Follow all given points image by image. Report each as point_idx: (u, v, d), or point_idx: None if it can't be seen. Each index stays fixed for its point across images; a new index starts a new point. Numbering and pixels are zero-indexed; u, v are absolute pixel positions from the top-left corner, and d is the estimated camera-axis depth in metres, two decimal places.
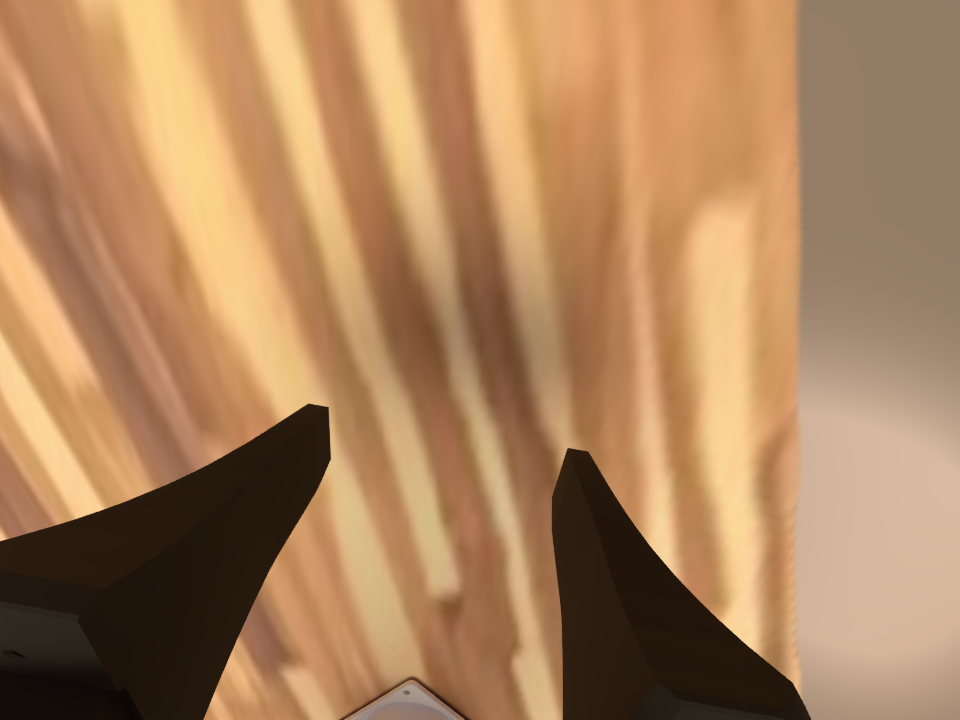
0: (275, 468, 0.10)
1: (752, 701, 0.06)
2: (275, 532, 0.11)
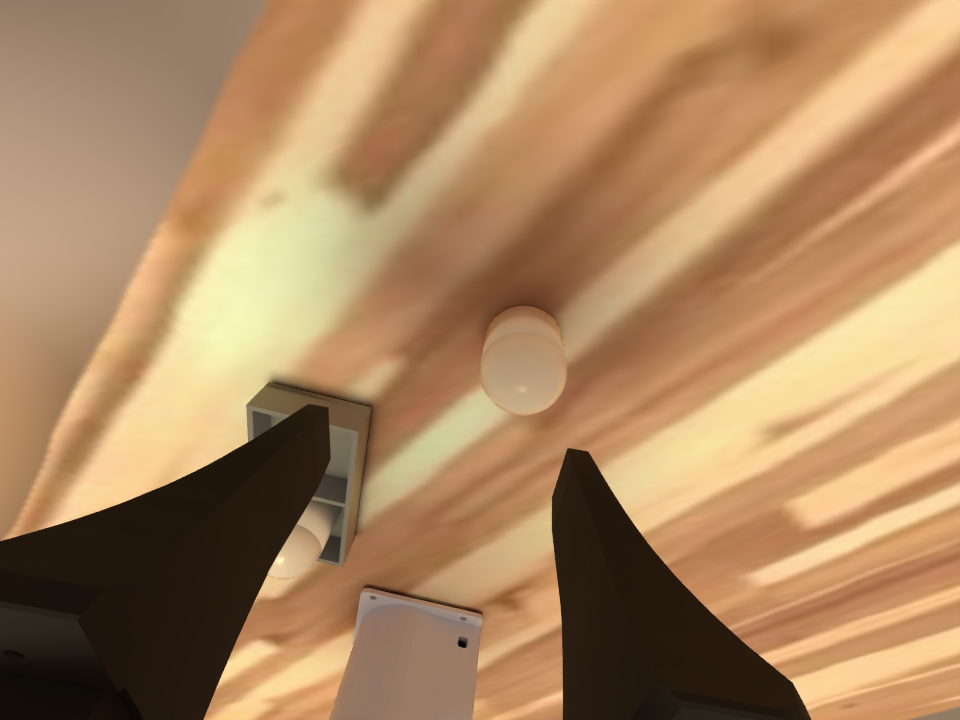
0: (276, 468, 0.10)
1: (753, 702, 0.06)
2: (275, 532, 0.11)
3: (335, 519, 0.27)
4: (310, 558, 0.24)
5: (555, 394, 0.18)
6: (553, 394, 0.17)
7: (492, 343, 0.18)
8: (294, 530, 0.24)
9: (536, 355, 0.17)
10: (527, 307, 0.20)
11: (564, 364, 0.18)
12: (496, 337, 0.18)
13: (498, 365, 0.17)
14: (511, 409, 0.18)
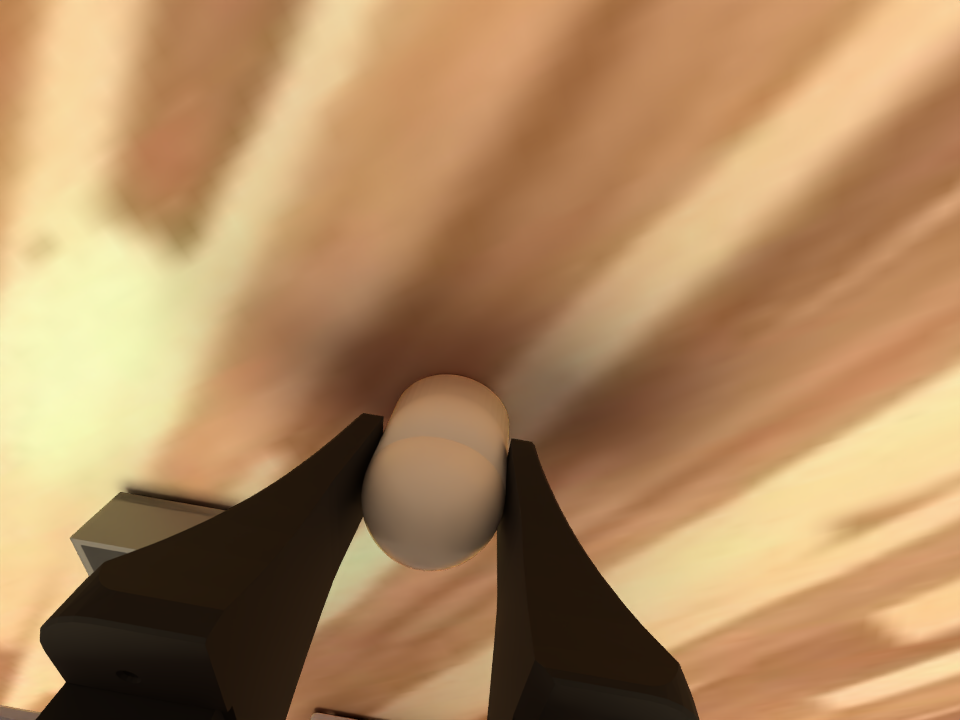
0: (343, 480, 0.10)
1: (629, 679, 0.06)
2: (339, 543, 0.11)
3: None
4: None
5: (480, 541, 0.10)
6: (475, 542, 0.10)
7: (374, 455, 0.11)
8: None
9: (437, 484, 0.10)
10: (446, 377, 0.13)
11: (494, 486, 0.10)
12: (384, 442, 0.11)
13: (376, 502, 0.10)
14: (410, 567, 0.11)
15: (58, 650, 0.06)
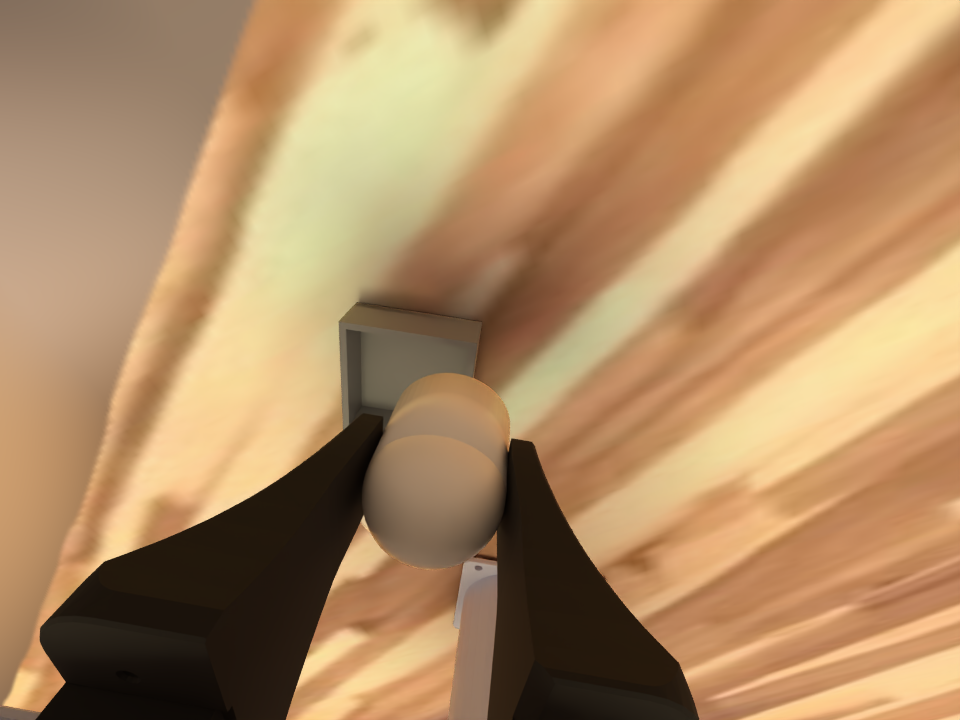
0: (343, 480, 0.10)
1: (628, 679, 0.06)
2: (339, 543, 0.11)
3: None
4: None
5: (481, 540, 0.10)
6: (477, 541, 0.10)
7: (375, 454, 0.11)
8: None
9: (438, 482, 0.10)
10: (447, 376, 0.13)
11: (495, 485, 0.10)
12: (384, 441, 0.11)
13: (377, 500, 0.10)
14: (410, 566, 0.11)
15: (58, 650, 0.06)
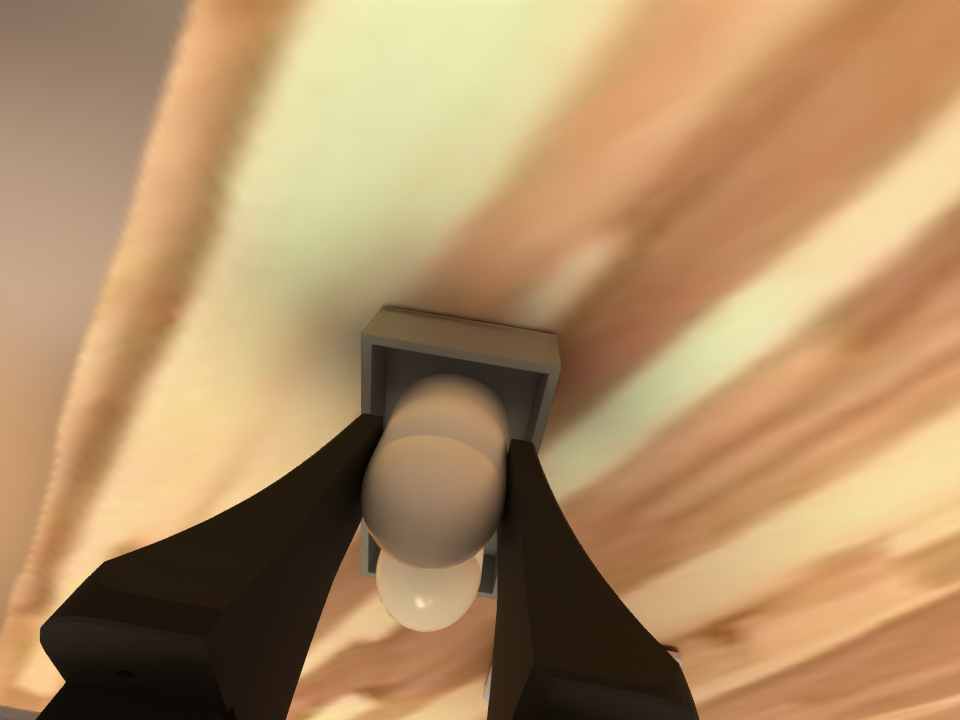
0: (343, 480, 0.10)
1: (628, 679, 0.06)
2: (339, 543, 0.11)
3: None
4: (471, 594, 0.15)
5: (480, 540, 0.10)
6: (476, 542, 0.10)
7: (375, 454, 0.11)
8: None
9: (437, 483, 0.10)
10: (446, 376, 0.13)
11: (494, 485, 0.10)
12: (384, 441, 0.11)
13: (376, 500, 0.10)
14: None
15: (58, 650, 0.06)
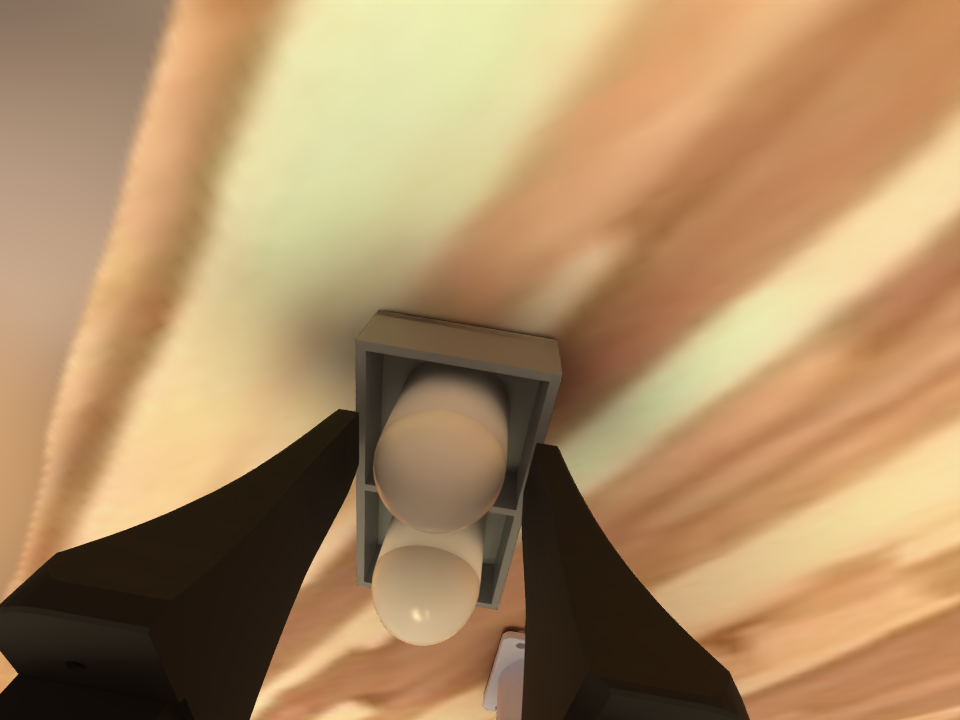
0: (313, 475, 0.10)
1: (683, 689, 0.06)
2: (311, 538, 0.11)
3: (484, 536, 0.17)
4: (470, 607, 0.14)
5: (483, 505, 0.11)
6: (479, 506, 0.11)
7: (385, 428, 0.12)
8: (441, 561, 0.14)
9: (444, 450, 0.11)
10: None
11: (496, 455, 0.11)
12: (394, 416, 0.12)
13: (388, 468, 0.11)
14: (419, 530, 0.11)
15: (6, 641, 0.06)
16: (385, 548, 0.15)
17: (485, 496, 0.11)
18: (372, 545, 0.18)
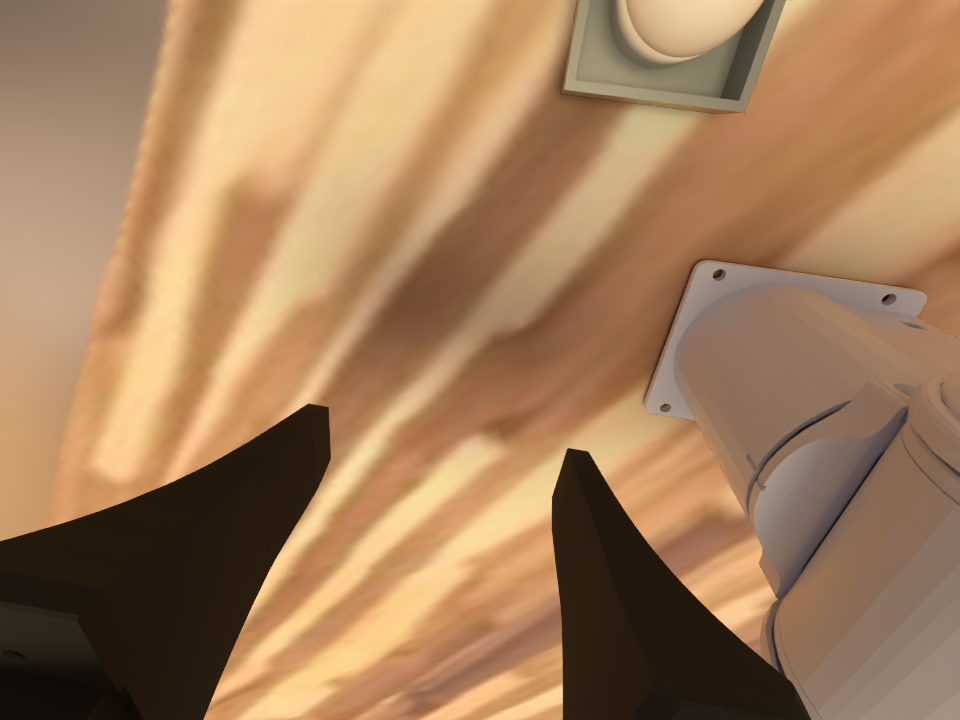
0: (275, 468, 0.10)
1: (753, 701, 0.06)
2: (275, 532, 0.11)
3: None
4: None
5: None
6: None
7: None
8: None
9: None
10: None
11: None
12: None
13: None
14: None
15: None
16: None
17: None
18: None
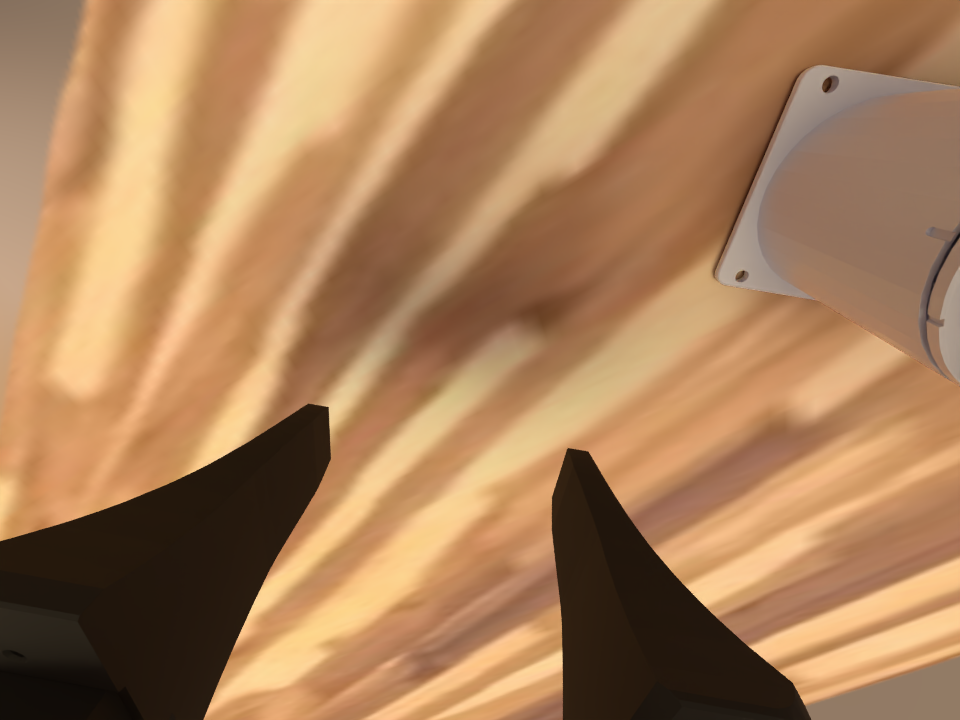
0: (275, 468, 0.10)
1: (753, 702, 0.06)
2: (275, 532, 0.11)
3: None
4: None
5: None
6: None
7: None
8: None
9: None
10: None
11: None
12: None
13: None
14: None
15: None
16: None
17: None
18: None
